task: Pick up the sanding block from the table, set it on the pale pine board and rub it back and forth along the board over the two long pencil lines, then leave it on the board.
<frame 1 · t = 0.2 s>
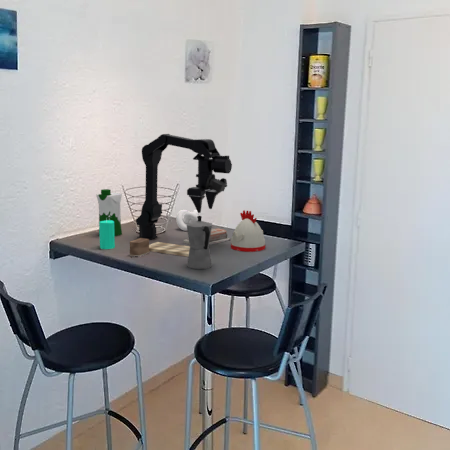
hand: (204, 210, 222), 14 cm above the table, tool pointing down, fingers open, 9 cm apart
candle: (107, 247, 221), on the table
board: (172, 250, 217), on the table
milk carton: (110, 235, 242), on the table
packaged product: (207, 242, 233), on the table
kitchen timer: (247, 248, 224), on the table
white knot sculpture: (188, 229, 255), on the table
sanding block: (139, 254, 211), on the table
coffeepot: (200, 266, 196), on the table
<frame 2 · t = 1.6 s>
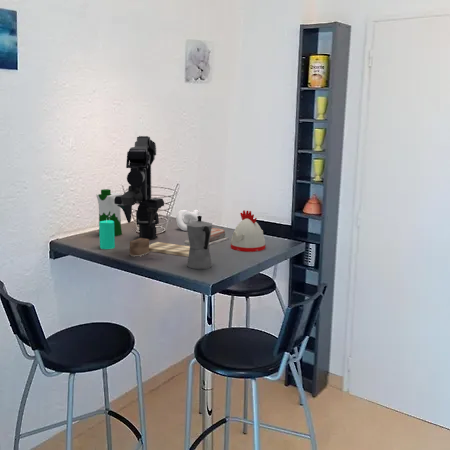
hand: (139, 223, 209), 12 cm above the table, tool pointing down, fingers open, 9 cm apart
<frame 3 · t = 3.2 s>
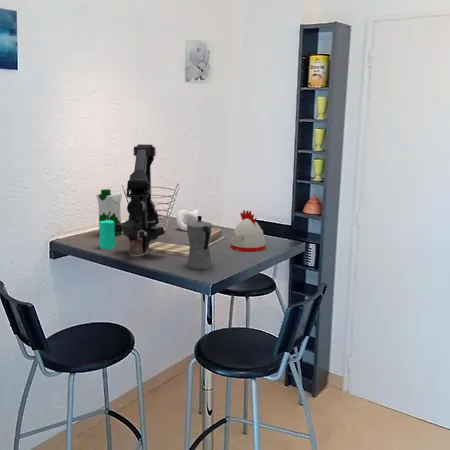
hand: (139, 251, 211), 1 cm above the table, tool pointing down, fingers closed on sanding block, 4 cm apart
sanding block: (139, 254, 211), on the table, touching gripper
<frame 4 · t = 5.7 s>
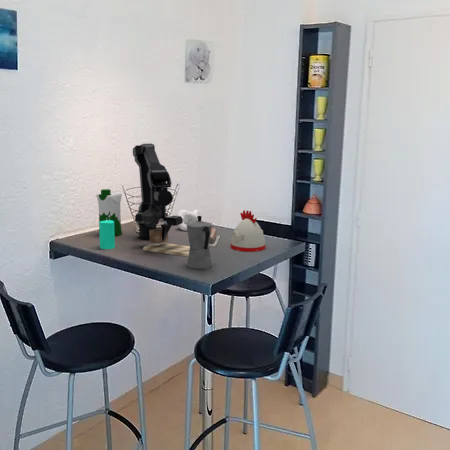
hand: (158, 240, 219), 3 cm above the table, tool pointing down, fingers closed on sanding block, 4 cm apart
sanding block: (158, 242, 219), point 2 cm above the table, touching gripper
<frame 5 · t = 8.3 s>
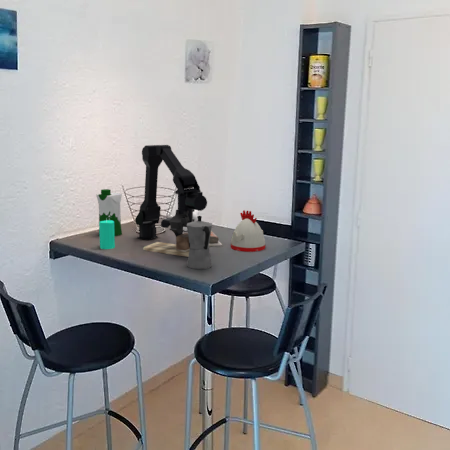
hand: (185, 246, 214), 2 cm above the table, tool pointing down, fingers closed on sanding block, 4 cm apart
sanding block: (185, 249, 214), point 1 cm above the table, touching gripper
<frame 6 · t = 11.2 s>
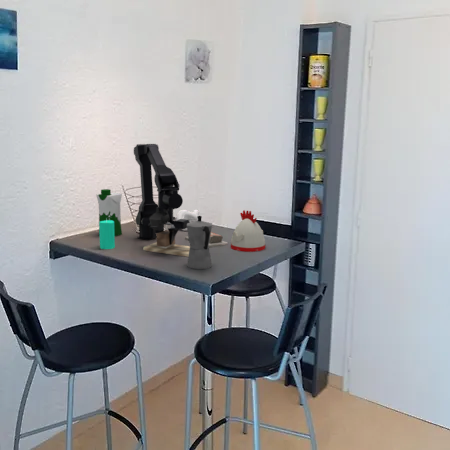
hand: (166, 243, 218), 2 cm above the table, tool pointing down, fingers closed on sanding block, 4 cm apart
sanding block: (166, 245, 218), point 2 cm above the table, touching gripper
when the fingers open (2 cm above the table, at t = 13.6 s): sanding block stays where it is, resting on board.
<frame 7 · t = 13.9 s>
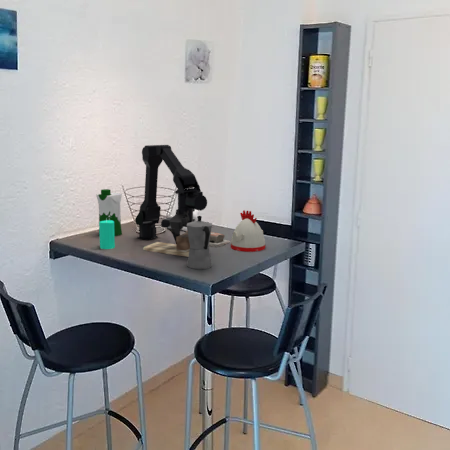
hand: (185, 246, 214), 2 cm above the table, tool pointing down, fingers open, 7 cm apart
sanding block: (185, 249, 214), point 1 cm above the table, touching board
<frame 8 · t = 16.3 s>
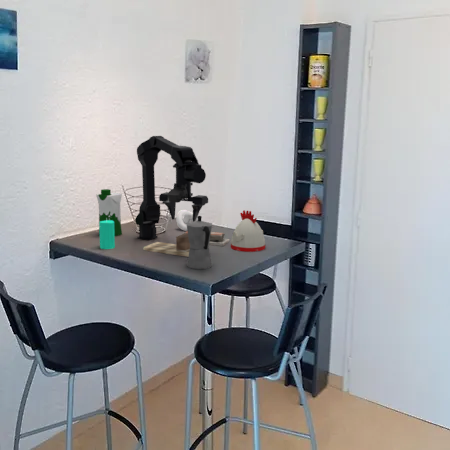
hand: (183, 220, 215), 12 cm above the table, tool pointing down, fingers open, 9 cm apart
at the end: sanding block inside the target area (6.0 cm from its centre), point 1.2 cm above the table; sanding block tilted 0°; the gripper is holding nothing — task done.
